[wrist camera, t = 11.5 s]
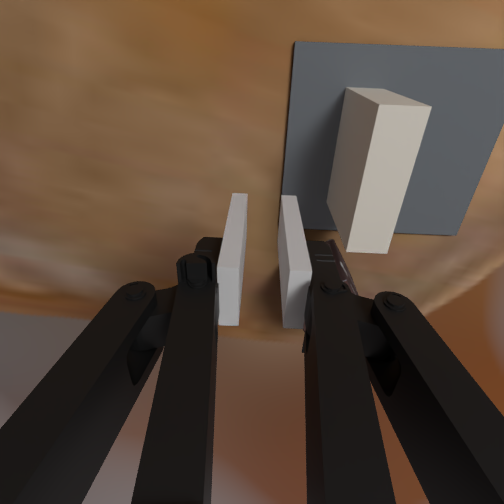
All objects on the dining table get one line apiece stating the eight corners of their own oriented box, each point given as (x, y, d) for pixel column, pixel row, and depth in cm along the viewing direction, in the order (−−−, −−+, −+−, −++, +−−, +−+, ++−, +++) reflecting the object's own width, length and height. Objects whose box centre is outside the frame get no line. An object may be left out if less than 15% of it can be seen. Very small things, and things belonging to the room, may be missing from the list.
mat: (279, 225, 34) (279, 227, 33) (294, 41, 25) (295, 41, 25) (454, 233, 33) (456, 235, 33) (531, 50, 25) (534, 50, 24)
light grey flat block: (326, 201, 32) (346, 251, 24) (346, 87, 26) (379, 104, 19) (358, 203, 32) (388, 253, 24) (385, 88, 26) (434, 106, 19)
